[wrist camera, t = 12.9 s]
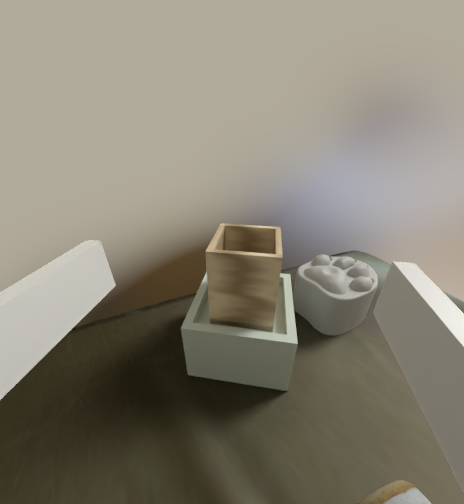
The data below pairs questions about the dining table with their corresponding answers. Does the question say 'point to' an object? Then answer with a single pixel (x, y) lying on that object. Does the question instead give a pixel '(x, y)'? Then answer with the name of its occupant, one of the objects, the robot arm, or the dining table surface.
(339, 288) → the lumpy-topped squat cylinder
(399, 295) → the robot arm
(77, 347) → the dining table surface
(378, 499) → the ceramic mug
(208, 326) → the pale green square box
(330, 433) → the dining table surface
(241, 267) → the birch crate
